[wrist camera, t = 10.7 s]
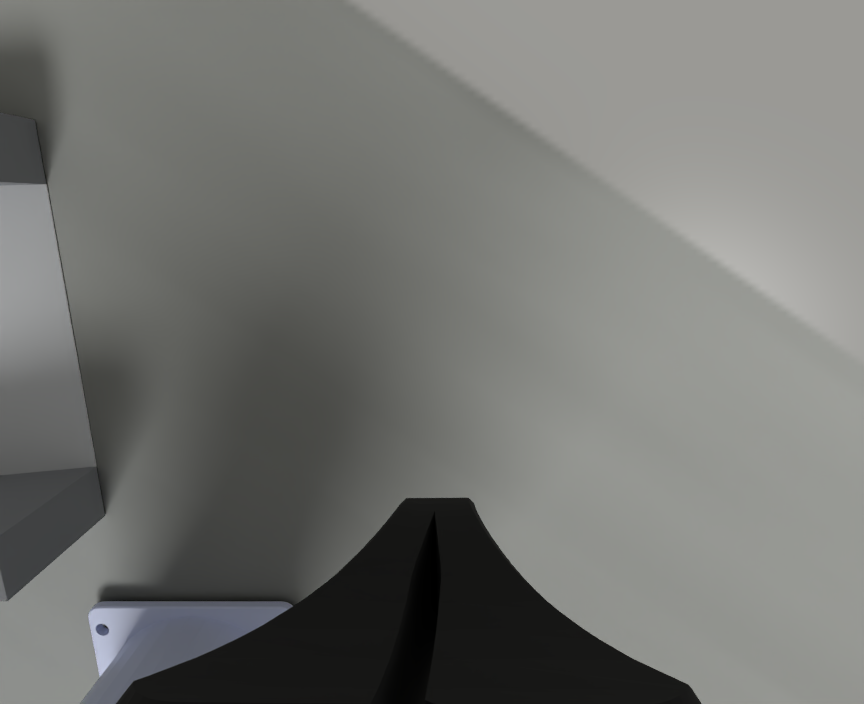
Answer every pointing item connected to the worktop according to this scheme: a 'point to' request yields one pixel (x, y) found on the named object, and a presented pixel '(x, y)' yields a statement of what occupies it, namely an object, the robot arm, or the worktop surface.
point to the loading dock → (37, 378)
